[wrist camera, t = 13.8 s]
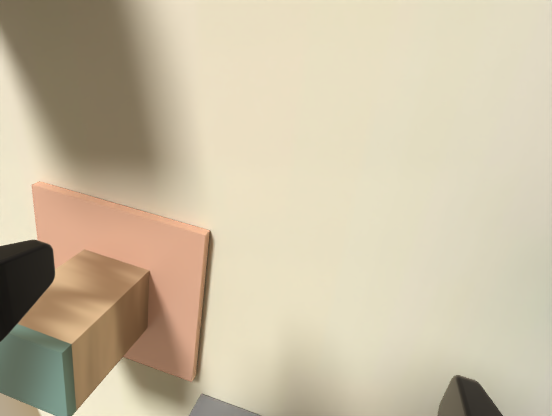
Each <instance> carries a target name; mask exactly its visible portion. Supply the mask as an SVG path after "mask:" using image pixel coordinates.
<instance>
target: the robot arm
mask: <svg viewBox="0 0 552 416" xmlns="http://www.w3.org/2000/svg"><path fill="white" fill-rule="evenodd" d="M54 278H55V264H54V253H53V248H52V246H51V245H49V244H48V243H44V242H41V241H38V240H28V241H23V242H18V243H14V244H9V245H4V246H0V342H1V341H2V340H3V339H4V338H5V337H6V336H7V335H8V334H9V333H10V332H11V331H12V329H13V328H14V327H15V326H16V325H17V324H18V323H19V321H20V320H21V319H22V318H23V317H24V316H25V314H26V313H27V312H28V311H29V310H30V309H31V307H32V306H33V305H34V304H35V303H36V302H37V300H38V299H39V298H40V297H41V296H42V295H43V294H44V292H45V291H46V290H47V289H48V288H49V287H50V285H51V284H52V282H53V281H54ZM437 416H503V415H502V414H501V413H500V411H499V410H498V408H497V407H496V406H495V404H494V403H493V401H492V400H491V399H490V397H489V396H488V395H487V393H486V392H485V390H484V389H483V388H482V386H481V385H480V384H479V383H478V382H477V381H475V380H472V379H469V378H466V377H463V376H460V375H456V376H454V377H453V378H452V379H451V381H450V383H449V385H448V388H447V390H446V392H445V394H444V396H443V398H442V400H441V403H440V405H439V409H438V415H437Z"/></svg>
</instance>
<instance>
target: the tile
mask: <svg viewBox="0 0 552 416" xmlns="http://www.w3.org/2000/svg"><path fill="white" fill-rule="evenodd" d="M32 194H33V203H34V212H35V221H36V230H37V239H38V241H41V242H44V243H48V244H49V245H51V246H52V248H53V253H54V264H55V269H56V268H58V267H59V266H61V265H62V264H64V263H65V262H66V261H68V260H69V259H71V258H72V257H74V256H75V255H77V254H78V253H79V252H81V251H82V250H84V249H85V250H88V251H91V252H94V253H97V254H100V255H103V256H106V257H110V258H113V259H116V260H119V261H122V262H125V263H128V264H131V265H134V266H137V267H140V268H143V269H147V270H149V299H148V328H147V329H146V331H145V332H144V333H143V334H142V335H141V336H140V337H139V339H138V340H137V341H136V342H135V343H134V344H133V346H132V347H131V348H130V349H129V350H128V351H127V353H126V354H125V355H124V356H123V357H125V358H128V359H130V360H133V361H136V362H138V363H141V364H144V365H147V366H149V367H152V368H155V369H158V370H160V371H163V372H166V373H169V374H171V375H174V376H177V377H179V378H182V379H185V380H188V381H190V382H192V381H193V379H194V378H195V376H196V370H197V360H198V349H199V339H200V329H201V318H202V308H203V297H204V287H205V276H206V266H207V256H208V245H209V235H210V230H206V229H203V228H200V227H196V226H193V225H189V224H186V223H182V222H179V221H175V220H172V219H168V218H165V217H161V216H158V215H154V214H151V213H147V212H144V211H141V210H137V209H134V208H130V207H127V206H123V205H120V204H116V203H113V202H109V201H106V200H102V199H99V198H95V197H92V196H88V195H85V194H82V193H78V192H75V191H71V190H68V189H64V188H61V187H57V186H54V185H50V184H47V183H43V182H40V181H39V182H37V183H35V184H32Z"/></svg>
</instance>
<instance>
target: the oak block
mask: <svg viewBox="0 0 552 416" xmlns="http://www.w3.org/2000/svg"><path fill="white" fill-rule="evenodd" d="M148 299H149V270H147V269H143V268H140V267H137V266H134V265H131V264H128V263H125V262H122V261H119V260H116V259H113V258H110V257H106V256H103V255H100V254H97V253H94V252H91V251H88V250H85V249H84V250H82V251H81V252H79V253H78V254H77V255H75V256H74V257H72V258H71V259H69V260H68V261H66V262H65V263H64V264H62V265H61V266H59V267H58V268H56V269H55V278H54V281H53V282H52V284H51V285H50V287H49V288H48V289H47V290H46V291H45V292H44V294H43V295H42V296H41V297H40V298H39V299H38V300H37V302H36V303H35V304H34V305H33V306H32V307H31V309H30V310H29V311H28V312H27V313H26V314H25V316H24V317H23V318H22V319H21V320H20V321H19V323H18V324H17V325H16V326H15V327H14V328H13V329H12V331H11V332H10V333H9V334H8V335H7V336H6V337H5V338H4V339H3V340H2V341H1V342H0V393H2V394H4V395H7V396H9V397H12V398H14V399H17V400H19V401H21V402H24V403H26V404H29V405H31V406H33V407H36V408H38V409H41V410H43V411H45V412H48V413H50V414H53V415H55V416H72V415H73V414H74V413H75V412H76V411H77V409H78V408H79V407H80V406H81V405H82V404H83V402H84V401H85V400H86V399H87V398H88V397H89V395H90V394H91V393H92V392H93V391H94V390H95V389H96V387H97V386H98V385H99V384H100V383H101V382H102V380H103V379H104V378H105V377H106V376H107V375H108V373H109V372H110V371H111V370H112V369H113V368H114V366H115V365H116V364H117V363H118V362H119V361H120V360H121V358H122V357H123V356H124V355H125V354H126V353H127V351H128V350H129V349H130V348H131V347H132V346H133V344H134V343H135V342H136V341H137V340H138V339H139V337H140V336H141V335H142V334H143V333H144V332H145V331H146V329H147V328H148Z"/></svg>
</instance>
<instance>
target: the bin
mask: <svg viewBox="0 0 552 416" xmlns="http://www.w3.org/2000/svg"><path fill="white" fill-rule="evenodd" d="M189 416H260V415H258V414H255V413H252V412H250V411H247V410H244V409H241V408H239V407H236V406H233V405H231V404H228V403H225V402H222V401H220V400H217V399H214V398H212V397H209V396H206V395H204V394H201V395H200V397H199V399H198V400H197V402H196V404H195V406H194V407H193V409H192V411H191V413H190V415H189Z"/></svg>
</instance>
